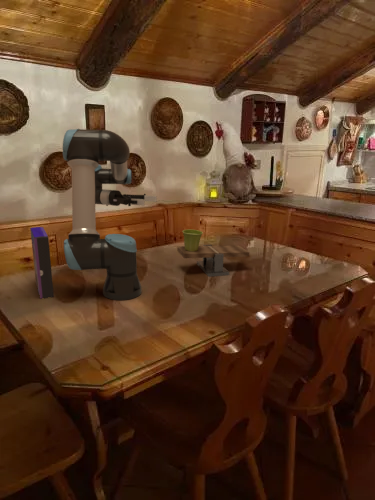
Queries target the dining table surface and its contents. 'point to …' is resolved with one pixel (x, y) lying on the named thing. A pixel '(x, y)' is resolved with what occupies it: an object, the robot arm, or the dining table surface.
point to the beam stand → (213, 265)
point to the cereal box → (42, 262)
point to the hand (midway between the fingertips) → (150, 200)
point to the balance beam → (213, 251)
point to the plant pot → (192, 239)
